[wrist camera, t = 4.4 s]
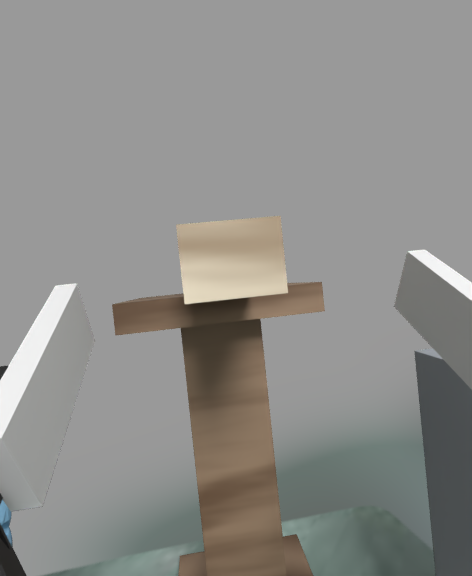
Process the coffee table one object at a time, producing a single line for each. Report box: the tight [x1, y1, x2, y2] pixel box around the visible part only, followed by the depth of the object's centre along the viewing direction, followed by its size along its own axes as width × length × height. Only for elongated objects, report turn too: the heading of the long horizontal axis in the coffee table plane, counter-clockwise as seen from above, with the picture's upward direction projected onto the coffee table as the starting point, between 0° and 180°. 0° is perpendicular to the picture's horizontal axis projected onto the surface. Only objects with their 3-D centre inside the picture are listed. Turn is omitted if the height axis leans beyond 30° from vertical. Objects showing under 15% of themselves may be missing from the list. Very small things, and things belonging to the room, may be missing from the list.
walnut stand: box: [112, 282, 325, 576], centre depth 30 cm, size 12×14×28 cm
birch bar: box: [176, 216, 288, 304], centre depth 26 cm, size 26×4×3 cm, turn 6°
